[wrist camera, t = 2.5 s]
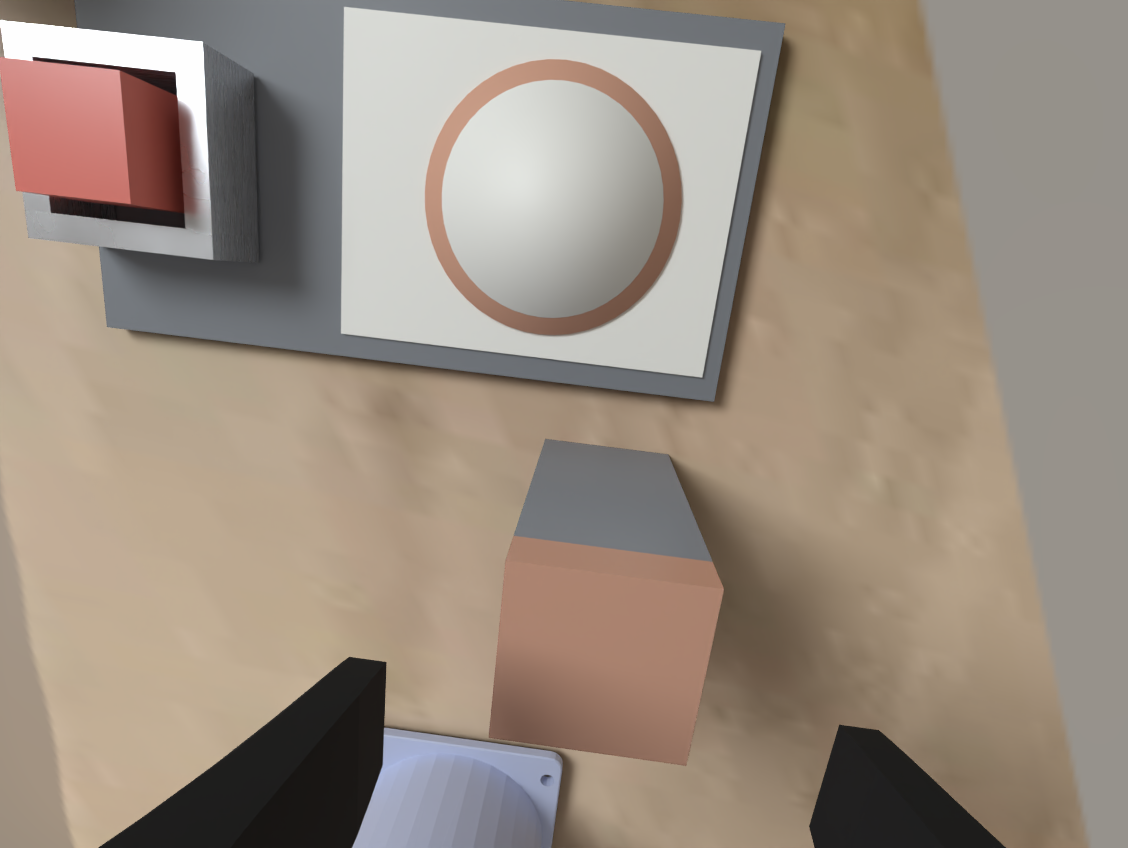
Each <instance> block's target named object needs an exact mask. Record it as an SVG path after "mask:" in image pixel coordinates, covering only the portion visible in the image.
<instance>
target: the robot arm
mask: <svg viewBox="0 0 1128 848" xmlns="http://www.w3.org/2000/svg"><path fill="white" fill-rule="evenodd" d="M385 688H386V662H382V661H374V660H367V659H360V658H353V657H349V658H347V659H346V660H344V661H343V662H342V663H341V664H339V665H338V666H337V667H336V668H334V669H333V670H332V671H331V672H329V673H328V674H327V675H326V676H325V677H323V678H322V679H321V680H320V681H318V682H317V683H316V684H315V685H314V686H312V687H311V688H310V689H309V690H308V691H306V692H305V693H304V694H303V695H302V696H300V697H299V698H298V699H297V700H295V701H294V702H293V703H292V704H291V705H289V706H288V707H287V708H286V709H284V710H283V711H282V712H281V713H280V714H278V715H277V716H276V717H275V718H273V719H272V720H271V721H270V722H268V723H267V724H266V725H265V726H263V727H262V728H261V729H259V730H258V731H257V732H256V733H254V734H253V735H252V736H251V737H249V738H248V739H247V740H245V741H244V742H243V743H242V744H240V745H239V746H238V747H237V748H235V749H234V750H233V751H232V752H230V753H229V754H228V755H226V756H225V757H224V758H223V759H221V760H220V761H219V762H217V763H216V764H215V765H213V766H212V767H211V768H209V769H208V770H207V771H205V772H204V773H203V774H201V775H200V776H199V777H197V778H196V779H194V780H193V781H192V782H190V783H189V784H188V785H186V786H185V787H183V788H182V789H181V790H179V791H178V792H177V793H175V794H174V795H173V796H171V797H170V798H168V799H167V800H166V801H164V802H163V803H162V804H160V805H159V806H157V807H156V808H155V809H153V810H152V811H151V812H149V813H148V814H146V815H145V816H144V817H142V818H141V819H139V820H138V821H137V822H135V823H134V824H132V825H131V826H129V827H128V828H126V829H125V830H123V831H122V832H121V833H119V834H118V835H116V836H115V837H113V838H112V839H110V840H109V841H107V842H106V843H105V844H103V845H102V846H100V847H99V848H551V846H552V839H553V832H554V825H555V818H556V811H557V804H558V797H559V790H560V782H561V775H562V766H563V762H562V758H561V757H560V755H558V754H557V753H555V752H552V751H547V750H539V749H532V748H525V747H518V746H511V745H504V744H497V743H490V742H483V741H476V740H469V739H462V738H455V737H448V736H440V735H433V734H426V733H419V732H412V731H405V730H398V729H391V728H384V716H385ZM544 775H550V776H551V777H546V776H544ZM809 827H810V831H811V835H812V839H813V843H814V847H815V848H1006V847H1004V846H1003V845H1002V844H1001V843H1000V842H999V841H998V840H997V839H996V838H995V837H994V836H993V835H992V834H990V833H989V832H988V831H987V830H986V829H985V828H984V827H983V826H982V825H981V824H980V823H979V822H978V821H977V820H975V819H974V818H973V817H972V816H971V815H970V814H969V813H968V812H967V811H966V810H965V809H964V808H963V807H962V806H961V805H960V804H959V803H957V802H956V801H955V800H954V799H953V798H952V797H951V796H950V795H949V794H948V793H947V792H946V791H945V790H944V789H943V788H942V787H940V786H939V785H938V784H937V783H936V782H935V781H934V780H933V779H932V778H931V777H930V776H929V775H928V774H927V773H926V772H924V771H923V770H922V769H921V768H920V767H919V766H918V765H917V764H916V763H915V762H914V761H913V760H912V759H911V758H909V757H908V756H907V755H906V754H905V753H904V752H903V751H902V750H901V749H900V748H898V747H897V746H896V745H895V744H894V743H893V742H892V741H891V740H889V739H888V738H887V737H886V736H885V735H884V734H883V733H881V732H880V731H879V730H873V729H866V728H858V727H851V726H844V725H839V728H838V731H837V735H836V738H835V741H834V745H833V748H832V751H831V755H830V758H829V762H828V765H827V768H826V772H825V775H824V778H823V782H822V785H821V788H820V792H819V795H818V799H817V802H816V805H815V809H814V812H813V815H812V819H811V822H810V826H809Z"/></svg>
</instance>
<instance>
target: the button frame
mask: <svg viewBox="0 0 1128 848" xmlns="http://www.w3.org/2000/svg"><path fill="white" fill-rule="evenodd" d="M0 24H1V31H2V39H3V46H4V54H5V58H13V59H22V60H31V61H40V62H50V63H59V64H68V65H77V66H86V67H95V68H104V69H113V70H120V71H122V72H125V73H127V74H129V75H131V76H134V77H136V78H138V79H140V80H143V81H145V82H147V83H149V84H152V85H154V86H156V87H158V88H161V89H163V90H165V91H167V92H171V93H177V98H178V114H179V131H180V147H181V164H182V180H183V197H184V213H185V229H184V228H175V227H167V226H158V225H150V224H141V223H133V222H124V221H116V214H115V205H108V204H99V203H91V202H85V201H78V200H72V199H66V198H59V197H53V196H47V195H41V194H34V193H28V192H23V199H24V207H25V215H26V222H27V230H28V238H33V239H42V240H50V241H59V242H67V243H75V244H84V245H92V246H101V247H109V248H117V249H126V250H134V251H143V252H151V253H160V254H168V255H176V256H185V257H193V258H202V259H210V260H223V261H240V262H256V263H259V247H258V212H257V177H256V142H255V106H254V73H252V72H251V71H249V70H247V69H246V68H244V67H242V66H241V65H239V64H237V63H236V62H234V61H233V60H231V59H229V58H228V57H226V56H224V55H223V54H221V53H220V52H218V51H216V50H215V49H213V48H211V47H210V46H208V45H206V44H205V43H203V42H197V41H188V40H178V39H169V38H160V37H151V36H141V35H132V34H123V33H114V32H104V31H95V30H86V29H76V28H67V27H58V26H49V25H39V24H30V23H21V22H12V21H2V20H0Z"/></svg>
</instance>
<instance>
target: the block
mask: <svg viewBox="0 0 1128 848" xmlns="http://www.w3.org/2000/svg"><path fill="white" fill-rule="evenodd" d="M723 592H724V588H723V586H722V583H721V581H720V578H719V576H718V573H717V571H716V569H715V566H714V564H713V561H712V559H711V557H710V554H709V552H708V549H707V547H706V544H705V542H704V540H703V537H702V535H701V532H700V530H699V528H698V525H697V523H696V520H695V518H694V516H693V513H692V511H691V508H690V506H689V503H688V501H687V499H686V496H685V494H684V491H683V489H682V487H681V484H680V482H679V479H678V477H677V474H676V472H675V470H674V467H673V465H672V462H671V460H670V458H669V455H668V454H661V453H653V452H645V451H637V450H629V449H621V448H613V447H605V446H597V445H589V444H581V443H573V442H565V441H557V440H549V439H545V442H544V445H543V448H542V451H541V454H540V457H539V460H538V463H537V466H536V469H535V472H534V475H533V478H532V482H531V485H530V488H529V491H528V494H527V497H526V500H525V503H524V506H523V509H522V512H521V515H520V518H519V521H518V524H517V527H516V530H515V533H514V536H513V539H512V543H511V546H510V549H509V552H508V555H507V558H506V562H505V573H504V583H503V594H502V604H501V614H500V625H499V635H498V646H497V656H496V667H495V677H494V688H493V698H492V708H491V719H490V729H489V738H494V739H501V740H508V741H515V742H523V743H530V744H537V745H544V746H551V747H558V748H565V749H572V750H579V751H586V752H593V753H600V754H607V755H614V756H621V757H628V758H635V759H643V760H650V761H657V762H664V763H671V764H678V765H685V766H686V765H687V760H688V756H689V751H690V746H691V742H692V737H693V732H694V728H695V723H696V718H697V713H698V709H699V704H700V699H701V695H702V690H703V685H704V681H705V676H706V671H707V667H708V662H709V657H710V653H711V648H712V643H713V639H714V634H715V629H716V624H717V620H718V615H719V610H720V606H721V601H722V596H723Z"/></svg>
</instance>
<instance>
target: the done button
mask: <svg viewBox="0 0 1128 848" xmlns="http://www.w3.org/2000/svg"><path fill="white" fill-rule="evenodd" d="M0 74H1V82H2V89H3V97H4V104H5V112H6V119H7V127H8V134H9V142H10V149H11V156H12V164H13V171H14V179H15V186H16V191H22V192H28V193H34V194H41V195H47V196H53V197H59V198H66V199H72V200H78V201H85V202H91V203H99V204H108V205H116V206H125V207H133V208H142V209H150V210H159V211H168V212H176V213H184V197H183V180H182V164H181V147H180V131H179V114H178V98H177V96H176V95H174V94H172V93H169V92H167V91H165V90H163V89H161V88H158V87H156V86H154V85H152V84H149V83H147V82H145V81H143V80H140V79H138V78H136V77H134V76H131V75H129V74H127V73H125V72H122V71H120V70H113V69H104V68H95V67H86V66H77V65H68V64H59V63H50V62H40V61H31V60H22V59H13V58H4V57H0Z"/></svg>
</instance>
